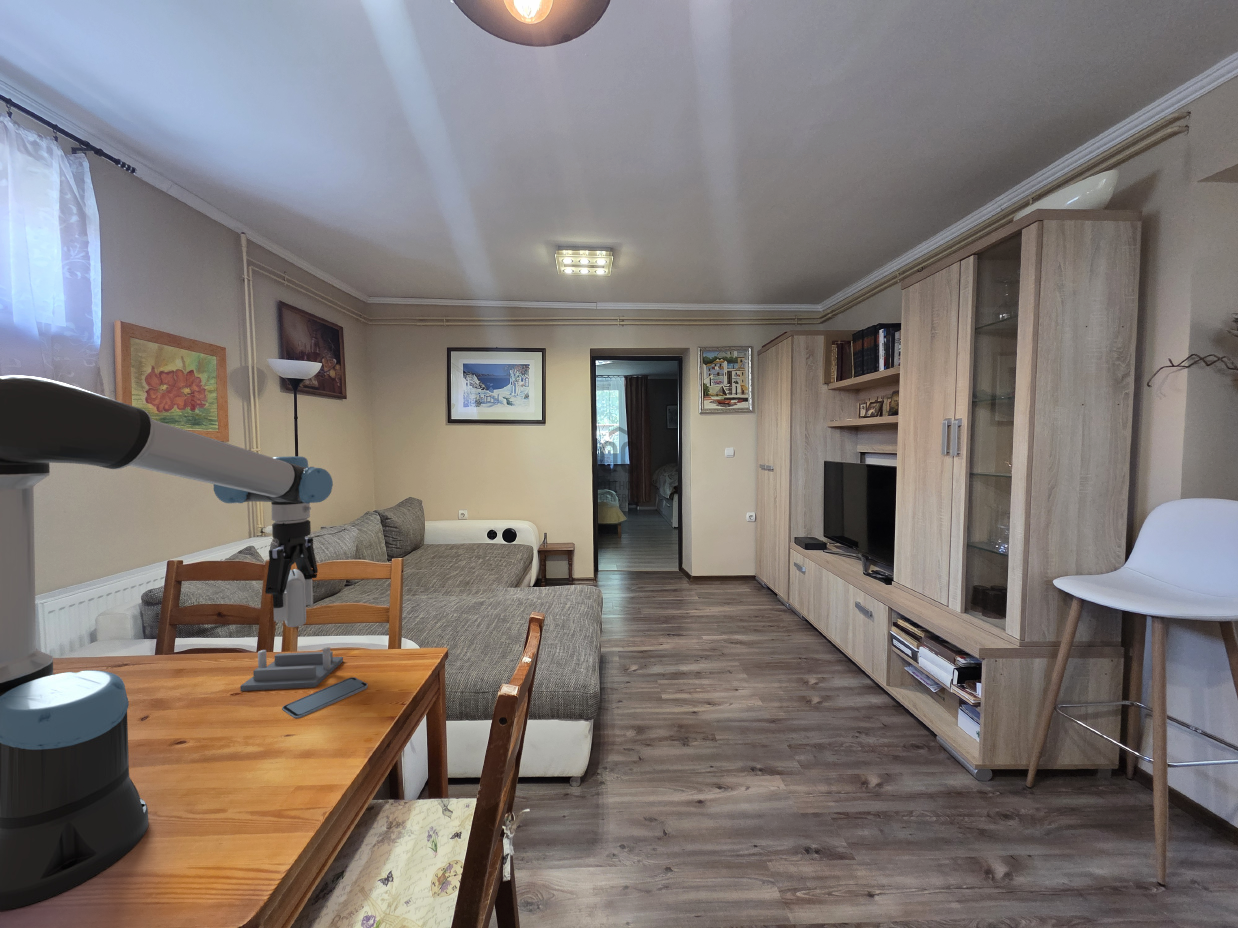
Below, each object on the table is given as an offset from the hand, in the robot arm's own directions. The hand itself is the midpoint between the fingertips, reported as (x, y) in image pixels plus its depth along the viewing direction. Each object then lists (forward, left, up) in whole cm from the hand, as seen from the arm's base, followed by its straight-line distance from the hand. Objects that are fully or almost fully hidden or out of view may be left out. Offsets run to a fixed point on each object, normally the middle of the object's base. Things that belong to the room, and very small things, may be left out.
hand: (294, 612), depth 112 cm
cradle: (0, 0, -15) cm, 15 cm away
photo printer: (0, 0, -2) cm, 2 cm away
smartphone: (-12, -13, -16) cm, 24 cm away
